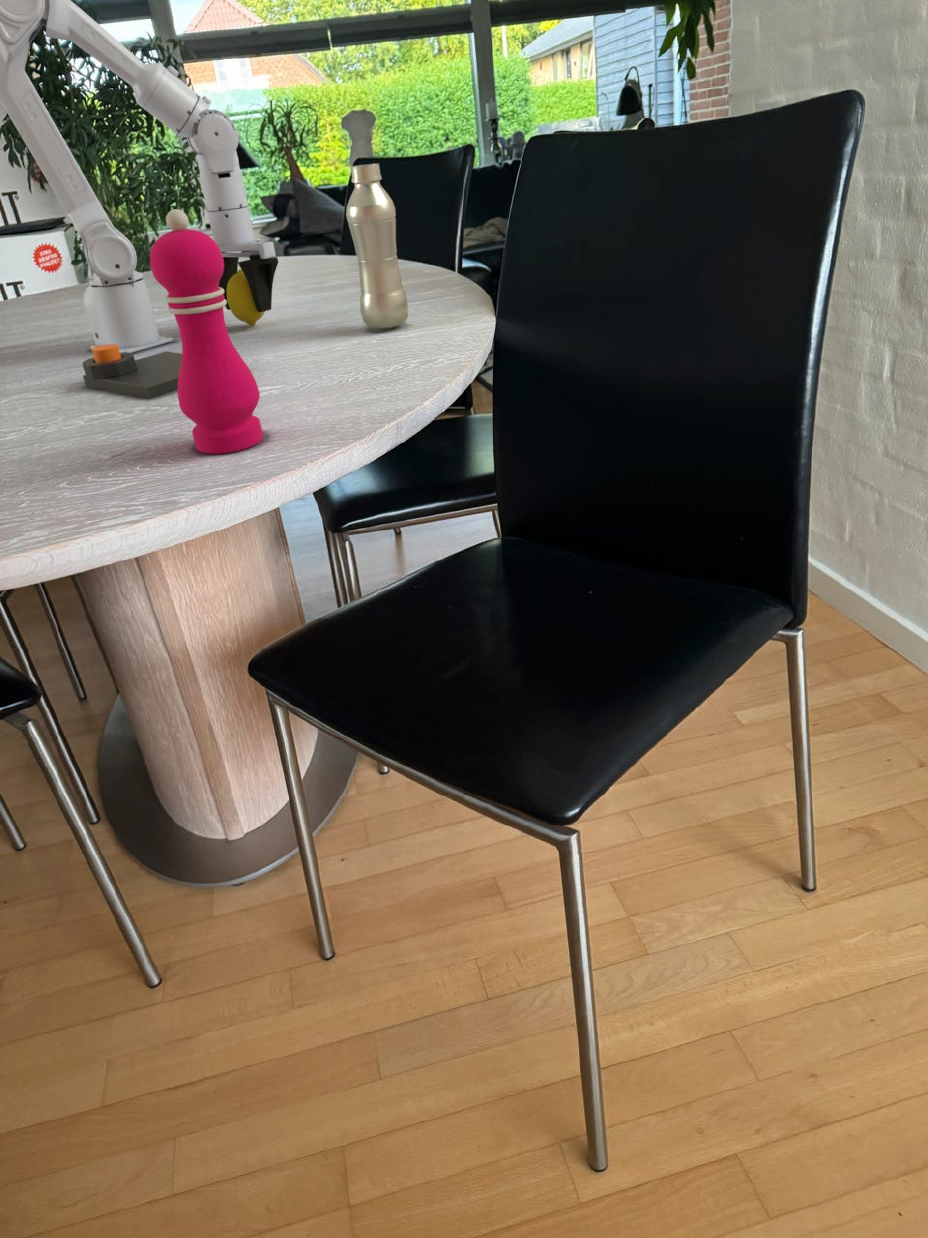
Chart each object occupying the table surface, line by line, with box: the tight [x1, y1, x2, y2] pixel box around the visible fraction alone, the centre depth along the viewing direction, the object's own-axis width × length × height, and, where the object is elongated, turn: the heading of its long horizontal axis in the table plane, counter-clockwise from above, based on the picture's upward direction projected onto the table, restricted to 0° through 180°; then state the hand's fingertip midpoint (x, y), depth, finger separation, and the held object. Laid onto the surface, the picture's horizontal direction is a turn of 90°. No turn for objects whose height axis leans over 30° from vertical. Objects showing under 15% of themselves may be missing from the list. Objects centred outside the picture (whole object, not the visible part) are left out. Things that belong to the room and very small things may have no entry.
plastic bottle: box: [345, 163, 409, 330], centre depth 114 cm, size 6×7×20 cm
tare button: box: [91, 344, 121, 363], centre depth 104 cm, size 3×3×2 cm
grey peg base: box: [82, 351, 182, 400], centre depth 105 cm, size 14×12×3 cm
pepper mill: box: [149, 208, 264, 455], centre depth 76 cm, size 7×7×20 cm
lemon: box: [227, 269, 266, 327], centre depth 127 cm, size 6×6×8 cm
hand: (248, 309), depth 128 cm, fingers open, 7 cm apart
